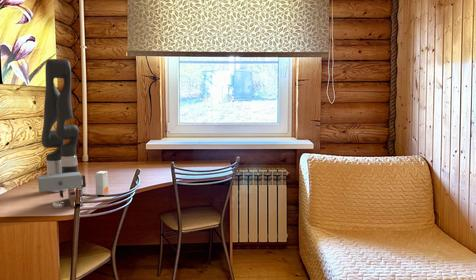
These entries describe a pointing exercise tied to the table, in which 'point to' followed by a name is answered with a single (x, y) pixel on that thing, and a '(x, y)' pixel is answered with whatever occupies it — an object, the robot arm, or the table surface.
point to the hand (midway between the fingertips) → (71, 196)
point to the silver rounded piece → (58, 204)
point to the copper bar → (71, 196)
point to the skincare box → (101, 182)
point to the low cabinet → (60, 182)
